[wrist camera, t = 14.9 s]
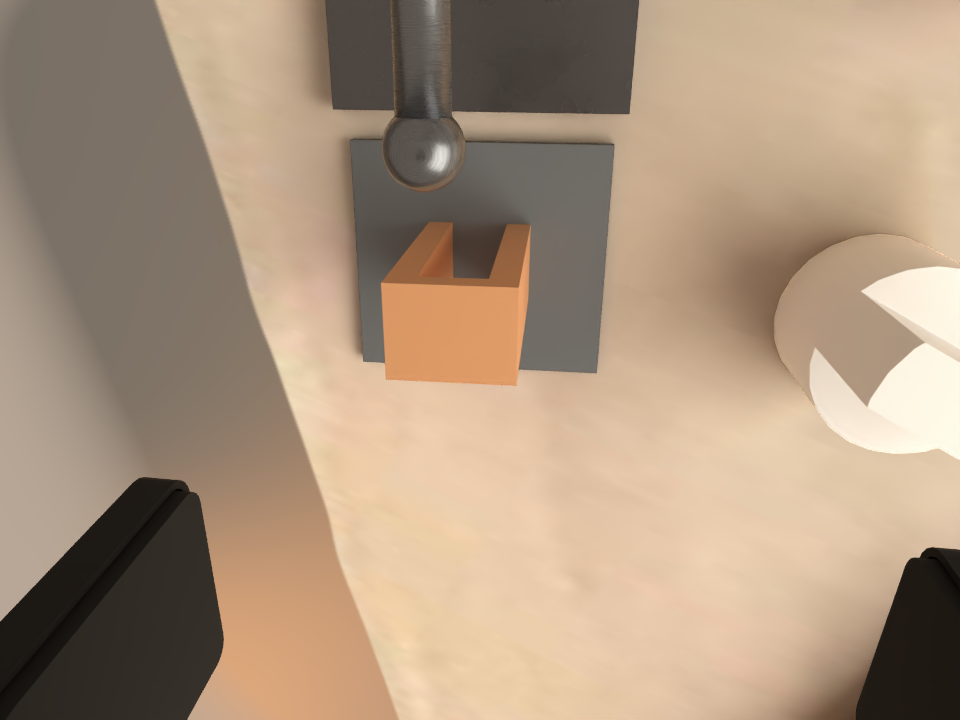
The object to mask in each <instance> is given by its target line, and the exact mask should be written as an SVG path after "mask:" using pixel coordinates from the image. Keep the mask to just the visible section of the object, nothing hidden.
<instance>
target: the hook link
mask: <svg viewBox="0 0 960 720" xmlns="http://www.w3.org/2000/svg"><path fill="white" fill-rule="evenodd" d="M530 230H531V224H507V226H506V229H505V232H504V235H503V238H502V241H501V244H500V247H499V250H498V253H497V256H496V259H495V262H494V265H493V268H492V271H491V275H490V278H489V279H476V278H453V222H429V223H428V224H427V225H426V227H425V228H424V229H423V231H422V232H421V233H420V234H419V236H418V237H417V238H416V239H415V241H414V242H413V243H412V244H411V246H410V247H409V248H408V249H407V251H406V252H405V253H404V255H403V256H402V257H401V258H400V260H399V261H398V262H397V263H396V265H395V266H394V267H393V268H392V270H391V271H390V272H389V274H388V275H387V276H386V277H385V279H384V280H383V281H382V282H381V292H382V312H383V331H384V350H385V369H386V379H388V380H409V381H430V382H451V383H472V384H492V385H513V386H516V384H517V377H518V370H519V363H520V355H521V348H522V341H523V334H524V327H525V320H526V313H527V305H528V294H529V262H530Z"/></svg>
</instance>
